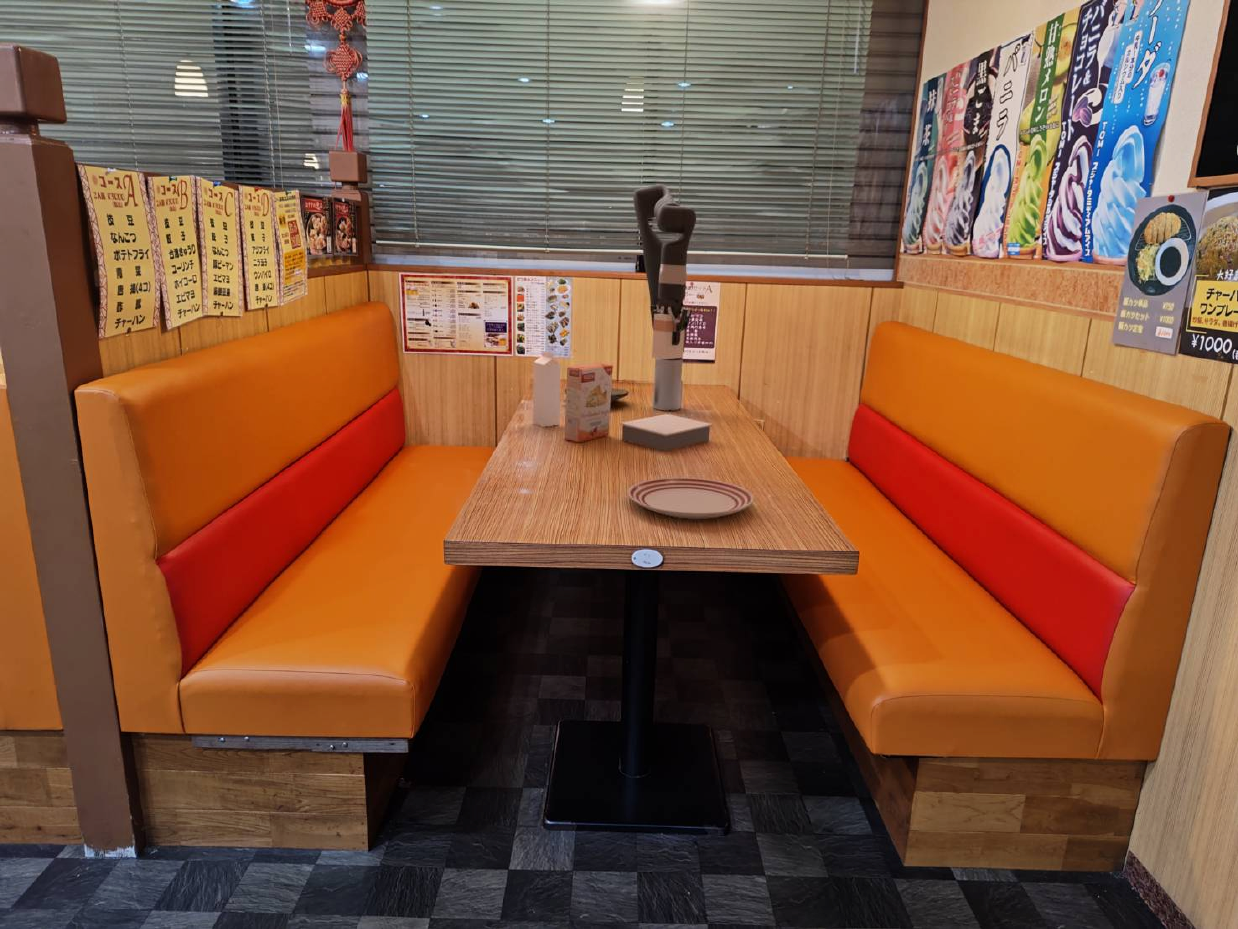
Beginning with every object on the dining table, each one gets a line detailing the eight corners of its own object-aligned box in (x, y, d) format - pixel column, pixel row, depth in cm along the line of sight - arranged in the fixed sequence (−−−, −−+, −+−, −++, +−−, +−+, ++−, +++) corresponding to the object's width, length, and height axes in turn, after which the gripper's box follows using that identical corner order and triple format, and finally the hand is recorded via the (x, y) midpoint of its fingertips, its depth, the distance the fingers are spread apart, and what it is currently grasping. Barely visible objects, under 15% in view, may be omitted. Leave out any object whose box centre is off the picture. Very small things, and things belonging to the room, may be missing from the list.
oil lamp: (561, 409, 273) (562, 386, 271) (566, 392, 302) (566, 372, 300) (628, 412, 274) (629, 389, 272) (626, 395, 303) (627, 374, 301)
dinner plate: (601, 502, 180) (601, 488, 179) (683, 481, 199) (684, 468, 198) (696, 538, 161) (698, 522, 160) (777, 510, 180) (779, 496, 179)
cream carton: (651, 357, 230) (654, 313, 227) (671, 355, 236) (673, 313, 233) (663, 359, 227) (666, 315, 224) (683, 357, 233) (685, 314, 229)
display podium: (666, 430, 250) (667, 413, 249) (711, 440, 239) (712, 424, 238) (619, 439, 235) (620, 422, 234) (664, 452, 224) (665, 434, 223)
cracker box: (579, 443, 229) (582, 369, 223) (563, 439, 232) (565, 366, 227) (610, 435, 240) (613, 364, 234) (594, 432, 243) (597, 361, 238)
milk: (542, 427, 247) (543, 354, 241) (532, 423, 251) (533, 351, 245) (559, 425, 250) (561, 353, 244) (549, 421, 255) (550, 350, 249)
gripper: (644, 280, 228) (640, 341, 233) (682, 283, 219) (678, 347, 223) (662, 280, 233) (658, 340, 238) (701, 283, 224) (696, 346, 228)
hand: (668, 343), depth 230 cm, fingers closed on cream carton, 4 cm apart
